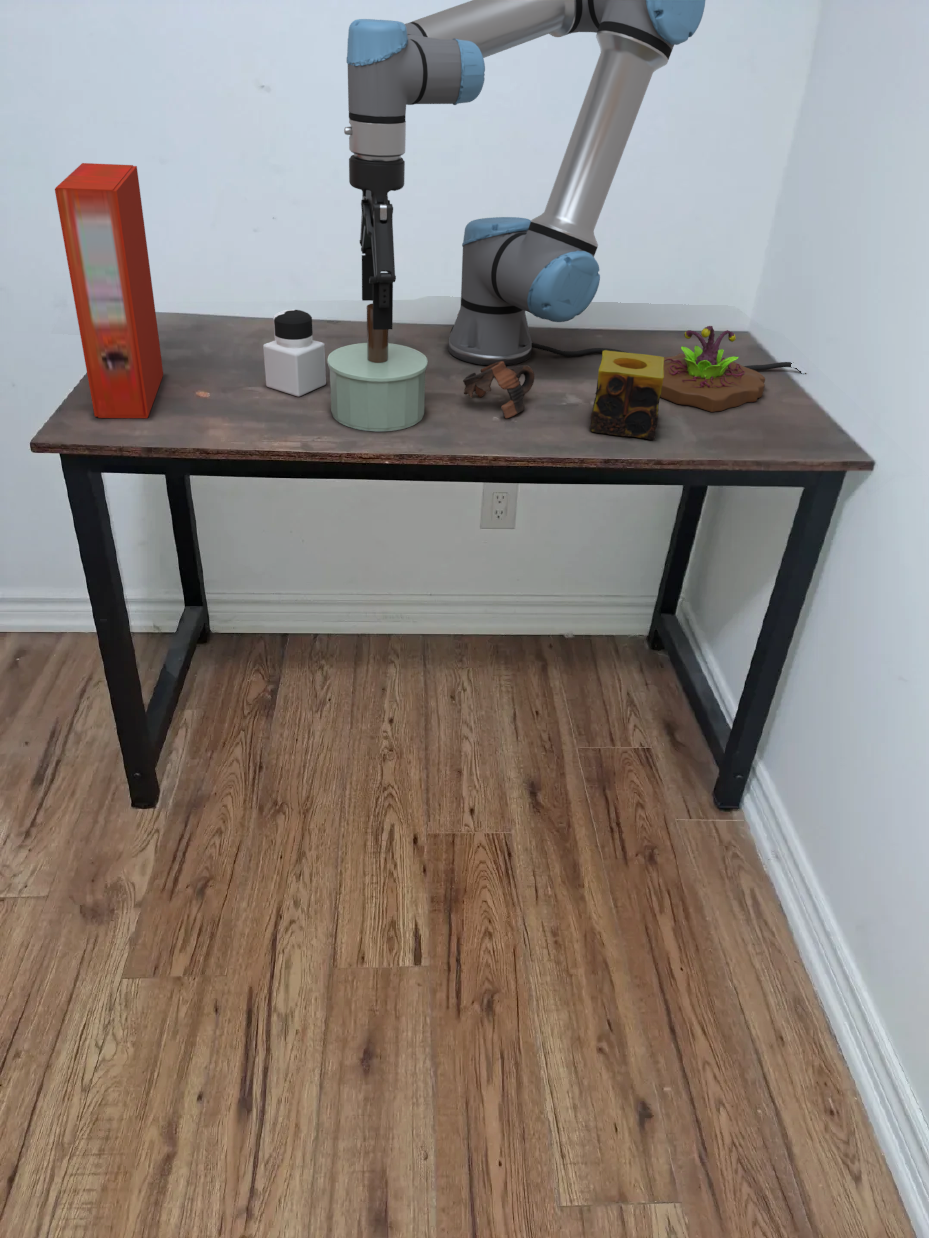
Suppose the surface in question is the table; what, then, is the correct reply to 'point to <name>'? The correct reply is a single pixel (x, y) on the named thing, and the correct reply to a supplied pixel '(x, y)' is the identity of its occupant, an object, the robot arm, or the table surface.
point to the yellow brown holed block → (628, 394)
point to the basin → (377, 402)
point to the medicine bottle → (294, 355)
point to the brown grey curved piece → (502, 384)
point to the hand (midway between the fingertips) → (376, 314)
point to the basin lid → (377, 358)
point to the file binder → (112, 287)
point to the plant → (709, 376)
